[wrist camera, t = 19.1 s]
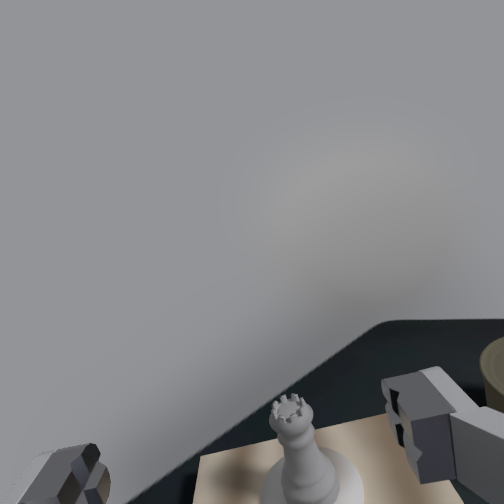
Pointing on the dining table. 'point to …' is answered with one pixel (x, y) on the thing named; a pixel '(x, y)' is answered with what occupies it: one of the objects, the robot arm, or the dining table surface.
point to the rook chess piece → (302, 455)
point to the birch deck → (343, 459)
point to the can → (493, 374)
